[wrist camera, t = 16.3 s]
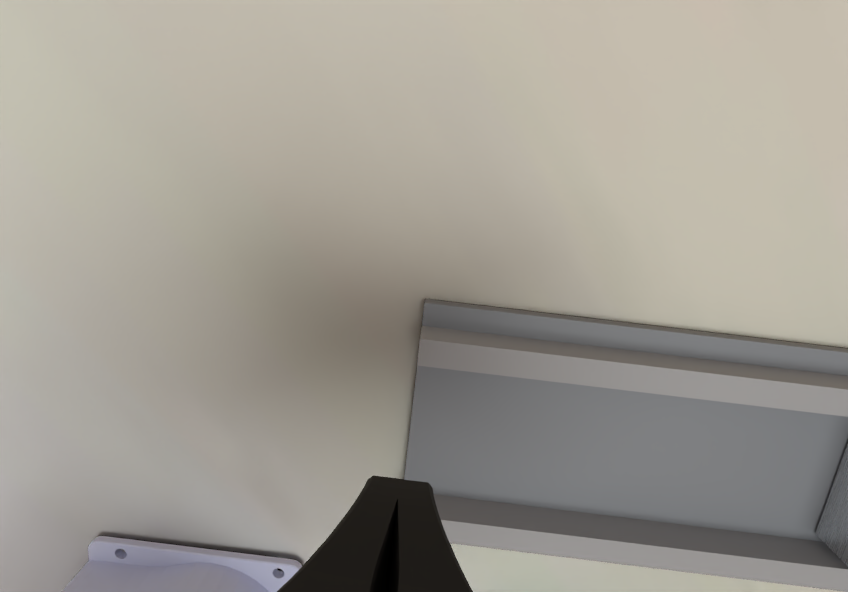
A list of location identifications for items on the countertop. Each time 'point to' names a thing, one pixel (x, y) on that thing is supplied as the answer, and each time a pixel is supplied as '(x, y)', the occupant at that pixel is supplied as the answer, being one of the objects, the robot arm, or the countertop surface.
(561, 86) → the countertop surface
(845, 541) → the light grey block
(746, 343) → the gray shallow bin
